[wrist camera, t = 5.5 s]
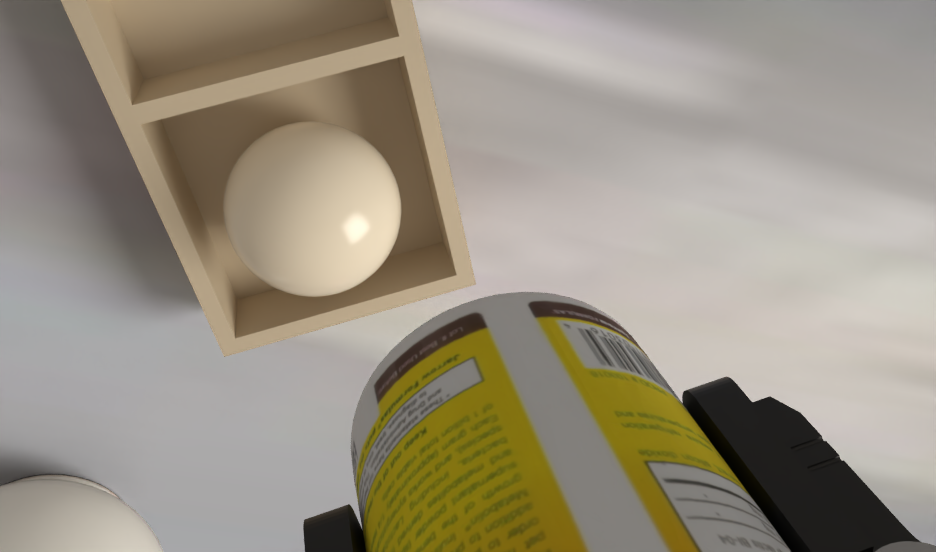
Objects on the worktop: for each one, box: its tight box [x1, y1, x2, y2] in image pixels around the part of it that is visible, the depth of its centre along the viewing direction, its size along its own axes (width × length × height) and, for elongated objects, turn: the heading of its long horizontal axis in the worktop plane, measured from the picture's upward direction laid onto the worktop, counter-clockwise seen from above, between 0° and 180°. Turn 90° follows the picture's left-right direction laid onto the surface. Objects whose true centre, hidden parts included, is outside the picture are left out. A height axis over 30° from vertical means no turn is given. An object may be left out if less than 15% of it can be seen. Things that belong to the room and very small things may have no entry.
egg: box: [223, 121, 401, 297], centre depth 25 cm, size 6×6×6 cm
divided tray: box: [61, 0, 476, 357], centre depth 25 cm, size 9×18×3 cm, turn 11°
